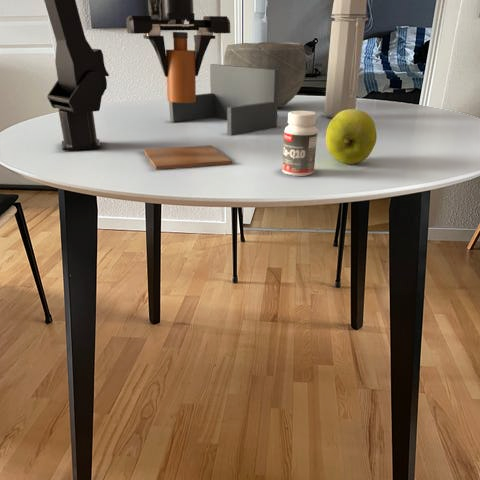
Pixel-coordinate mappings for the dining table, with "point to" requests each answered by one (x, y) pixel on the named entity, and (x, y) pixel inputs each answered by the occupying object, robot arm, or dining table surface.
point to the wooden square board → (185, 157)
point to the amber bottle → (181, 71)
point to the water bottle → (344, 55)
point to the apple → (351, 136)
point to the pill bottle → (300, 143)
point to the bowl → (273, 63)
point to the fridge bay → (235, 99)
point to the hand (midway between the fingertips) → (181, 76)
